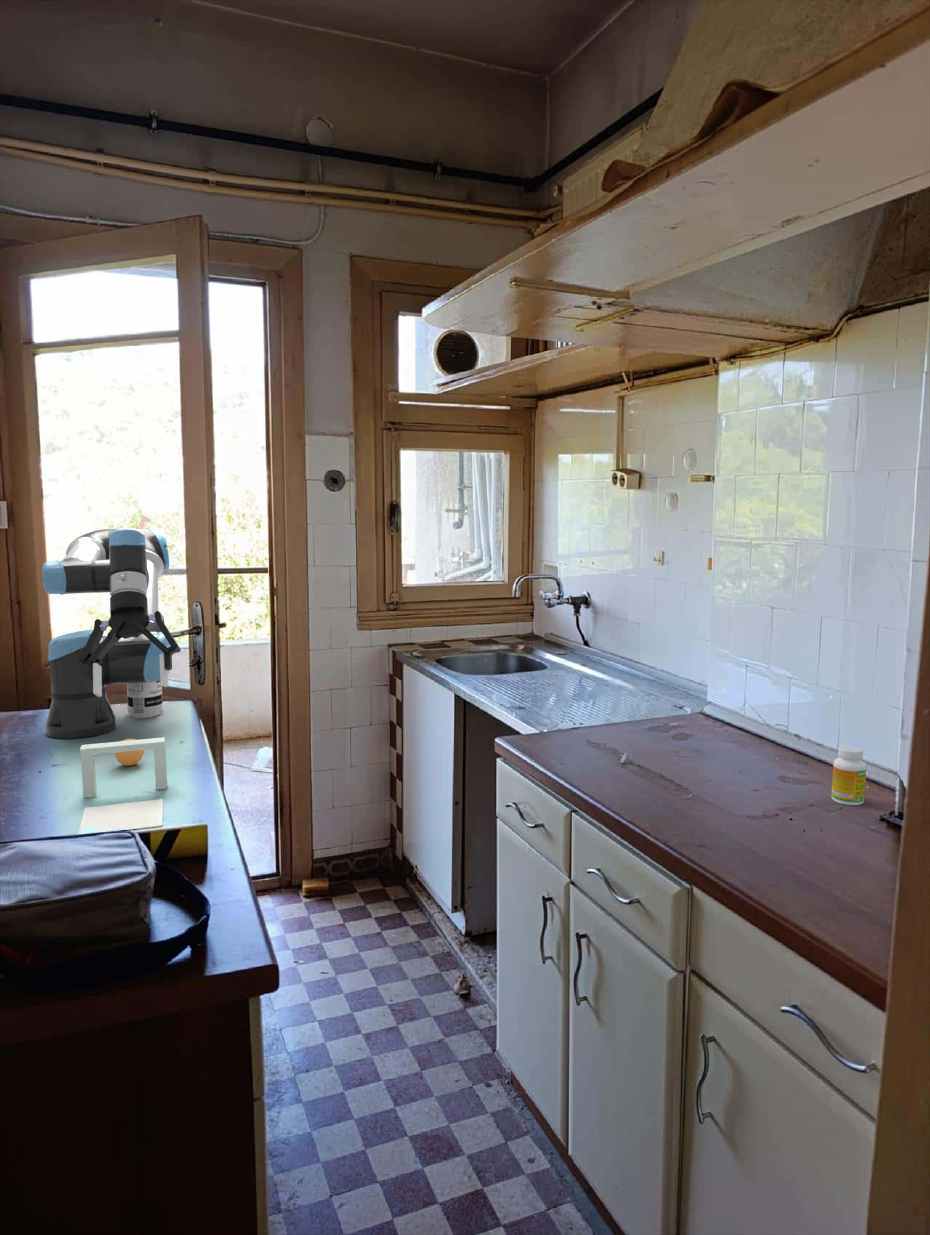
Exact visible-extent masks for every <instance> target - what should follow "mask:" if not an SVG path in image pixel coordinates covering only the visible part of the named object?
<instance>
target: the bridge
mask: <svg viewBox="0 0 930 1235" xmlns="http://www.w3.org/2000/svg"><path fill="white" fill-rule="evenodd" d="M137 750H153V760H154V762H153V764H154V777H155V790H156V791H157V790H159V789H160V790H166V789H168V772H167V771H168V769H167V768H168V767H167V755H166V751H167V750H166V737H154V738H144V739H135V740H130V741H123V740H121V741H111V742H101V743H100V742H99V743H89V744H81V746H80V748H79V751H80V752H79V753H80V766H81V768H80V770H81V779H82V780H81V781H82V793H83V799H86V798H85V797H88V798H96V796H97V793H98V792H97V790H98V788H97V787H98V786H97V775H96V761H95V760H96V759H95V755H104V754H115V753H116V752H127V751H137ZM160 790H159V791H160ZM96 792H97V793H96Z"/></svg>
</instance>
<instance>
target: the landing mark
mask: <svg viewBox="0 0 930 1235" xmlns="http://www.w3.org/2000/svg"><path fill="white" fill-rule="evenodd" d="M163 806H164V798H159V799H150V800H141V801H132V802H125V803H124V802H123V803H114V804H108V805H107V804H106V805H105V804H104V805H98V806H97V805H96V806H90V807H89V806H87V807H85V808H84V810H83V814H82V818H81V821H80V825H79V828H78V832H77V835H78V834H85V833H87V832H85V831H84V832H83V831H81V832H80V831H79V829H88V826H90V827H91V828H92V827H94V829H99V830H96V831H95V832H105V831H107V830H115V829H129V830H128V831H134V830H133V829H136V830H143V829H150V828H151V829H153V828H157V827H158V828H159V827H163V814H164V813H163V812H164V809H163V808H164V807H163ZM93 813H94V814H93ZM83 821H84V822H83ZM80 826H87V827H80ZM89 829H90V828H89ZM92 829H93V828H92Z"/></svg>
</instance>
